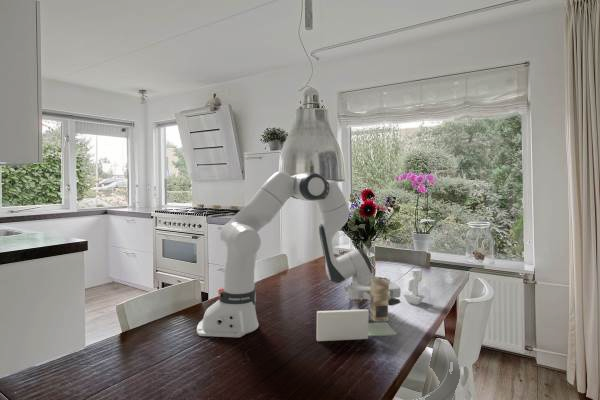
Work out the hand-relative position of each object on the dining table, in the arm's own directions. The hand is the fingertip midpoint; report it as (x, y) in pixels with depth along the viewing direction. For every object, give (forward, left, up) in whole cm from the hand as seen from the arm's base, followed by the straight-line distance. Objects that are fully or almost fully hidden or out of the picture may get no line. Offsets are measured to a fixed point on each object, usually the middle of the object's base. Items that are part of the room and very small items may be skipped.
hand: (380, 298), depth 131 cm
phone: (+13, +33, -13) cm, 37 cm away
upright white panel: (-15, -5, -12) cm, 20 cm away
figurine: (+26, +27, -12) cm, 39 cm away
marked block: (0, +1, -8) cm, 8 cm away
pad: (0, +1, -12) cm, 12 cm away
